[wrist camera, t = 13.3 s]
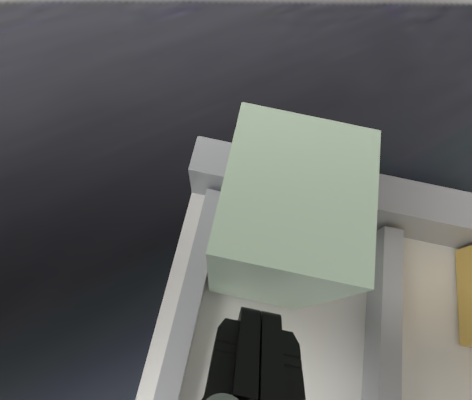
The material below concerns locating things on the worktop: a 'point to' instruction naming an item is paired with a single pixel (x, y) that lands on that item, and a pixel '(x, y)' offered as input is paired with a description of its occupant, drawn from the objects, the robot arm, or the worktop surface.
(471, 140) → the worktop surface
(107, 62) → the worktop surface
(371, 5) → the worktop surface
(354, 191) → the pale green block
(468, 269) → the yellow rectangular block
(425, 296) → the white divided tray
